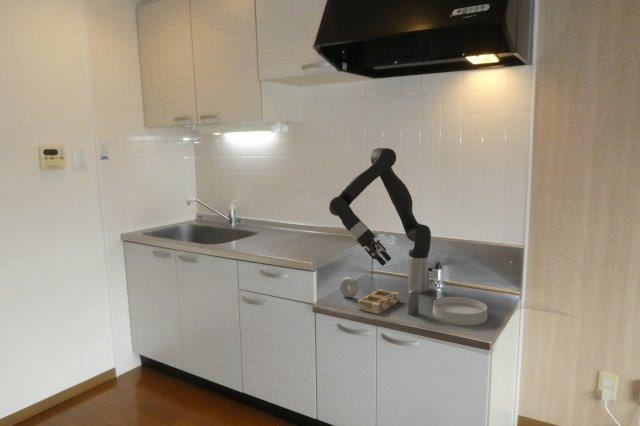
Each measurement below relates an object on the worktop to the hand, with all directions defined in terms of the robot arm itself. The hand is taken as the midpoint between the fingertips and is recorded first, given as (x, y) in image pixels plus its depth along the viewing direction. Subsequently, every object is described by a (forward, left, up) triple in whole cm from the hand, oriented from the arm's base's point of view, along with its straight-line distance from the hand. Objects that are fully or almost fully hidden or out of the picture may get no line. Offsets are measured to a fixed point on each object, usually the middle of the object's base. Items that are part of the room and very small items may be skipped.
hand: (387, 262), depth 200 cm
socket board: (0, -7, -21) cm, 22 cm away
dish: (-25, +17, -22) cm, 38 cm away
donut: (+8, -22, -22) cm, 32 cm away
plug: (-8, +8, -21) cm, 24 cm away
